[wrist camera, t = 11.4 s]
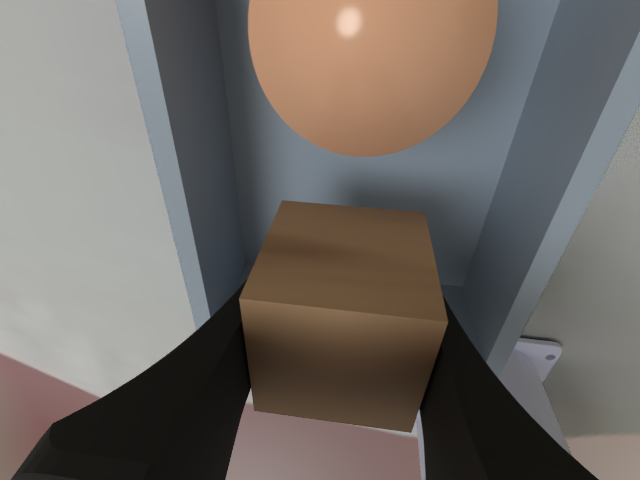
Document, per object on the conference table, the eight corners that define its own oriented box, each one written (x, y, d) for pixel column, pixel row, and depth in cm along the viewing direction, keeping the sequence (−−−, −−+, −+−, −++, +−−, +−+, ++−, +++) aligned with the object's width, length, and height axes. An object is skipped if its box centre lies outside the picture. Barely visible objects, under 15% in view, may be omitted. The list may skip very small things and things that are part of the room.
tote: (471, 291, 21) (498, 379, 16) (236, 266, 22) (199, 341, 17) (636, -163, 10) (835, -274, 6) (179, -163, 12) (51, -255, 7)
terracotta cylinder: (426, 94, 14) (457, 167, 9) (301, 83, 15) (254, 146, 9) (461, -71, 12) (541, -122, 6) (304, -80, 12) (239, -135, 6)
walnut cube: (402, 314, 15) (411, 432, 11) (285, 301, 16) (254, 410, 12) (425, 212, 13) (448, 322, 9) (281, 200, 13) (238, 298, 9)
